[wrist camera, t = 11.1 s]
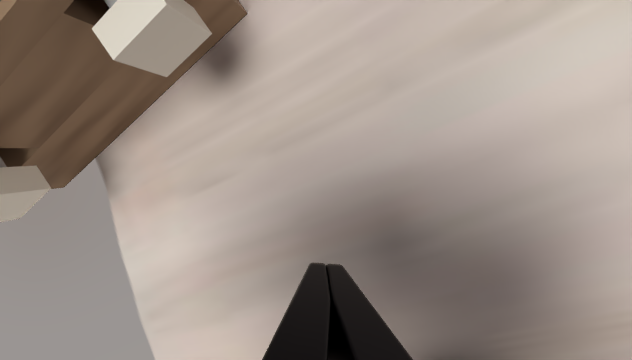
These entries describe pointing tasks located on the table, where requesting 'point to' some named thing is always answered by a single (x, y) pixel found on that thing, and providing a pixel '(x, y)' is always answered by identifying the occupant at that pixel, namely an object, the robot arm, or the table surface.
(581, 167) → the table surface
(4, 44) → the button box
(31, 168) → the button
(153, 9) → the button
